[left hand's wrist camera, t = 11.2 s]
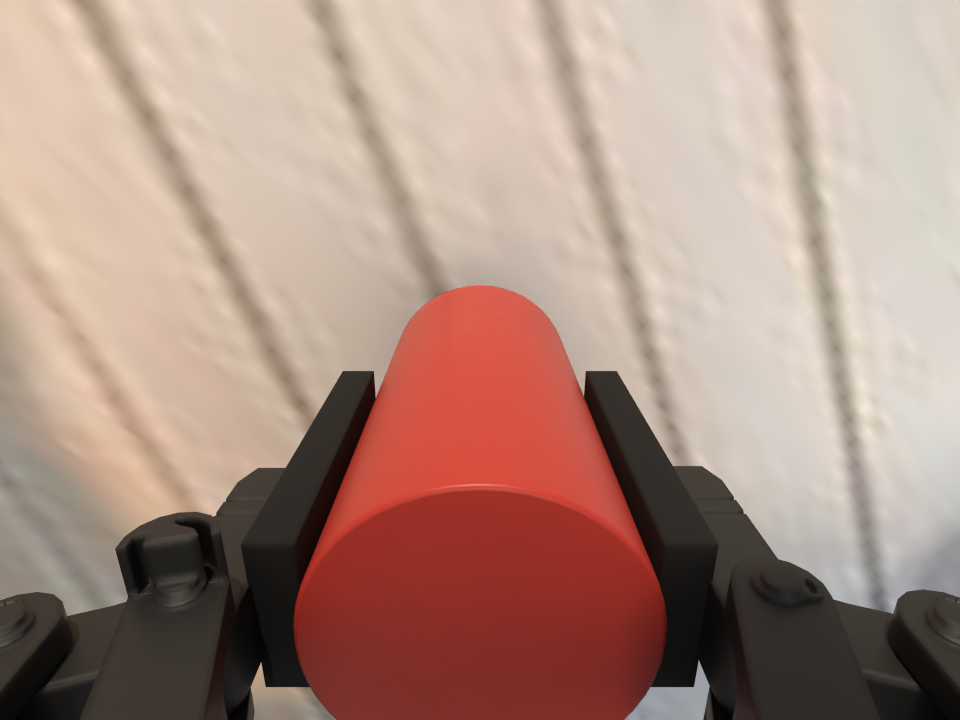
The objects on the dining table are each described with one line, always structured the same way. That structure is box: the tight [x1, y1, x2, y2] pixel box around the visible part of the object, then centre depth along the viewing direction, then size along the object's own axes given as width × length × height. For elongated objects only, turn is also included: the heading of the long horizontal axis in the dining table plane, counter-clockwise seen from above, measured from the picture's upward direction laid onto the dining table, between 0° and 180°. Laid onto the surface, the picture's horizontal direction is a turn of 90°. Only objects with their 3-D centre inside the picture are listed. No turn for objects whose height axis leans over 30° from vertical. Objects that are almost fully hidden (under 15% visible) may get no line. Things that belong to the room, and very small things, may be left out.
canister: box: [293, 286, 667, 720], centre depth 13 cm, size 5×5×11 cm
